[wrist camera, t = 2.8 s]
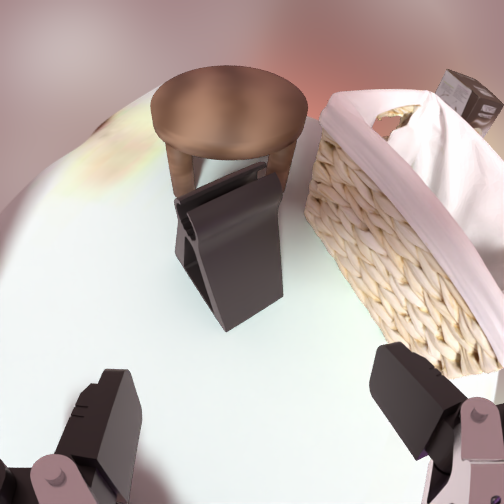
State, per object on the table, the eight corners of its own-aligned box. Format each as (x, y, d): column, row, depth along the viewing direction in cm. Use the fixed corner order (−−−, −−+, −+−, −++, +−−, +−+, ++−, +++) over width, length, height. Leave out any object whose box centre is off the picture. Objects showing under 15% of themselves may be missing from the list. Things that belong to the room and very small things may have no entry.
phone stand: (282, 298, 27) (319, 218, 16) (225, 333, 24) (225, 270, 14) (228, 226, 30) (232, 129, 20) (175, 254, 28) (152, 160, 18)
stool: (155, 214, 30) (138, 149, 22) (167, 124, 38) (160, 69, 30) (305, 207, 32) (327, 144, 24) (280, 121, 40) (289, 67, 32)
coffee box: (426, 182, 37) (479, 96, 23) (402, 151, 40) (444, 67, 26) (458, 176, 39) (505, 104, 25) (435, 149, 42) (475, 77, 28)
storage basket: (286, 207, 32) (317, 86, 19) (385, 173, 37) (430, 85, 24) (408, 404, 22) (534, 372, 9) (489, 320, 27) (575, 261, 14)
